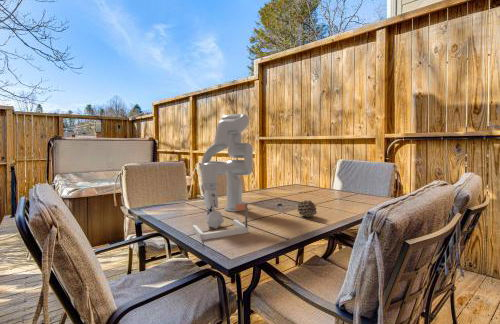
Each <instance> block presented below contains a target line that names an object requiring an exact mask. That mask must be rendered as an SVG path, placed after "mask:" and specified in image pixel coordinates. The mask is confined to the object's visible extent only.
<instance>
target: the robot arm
mask: <svg viewBox="0 0 500 324" xmlns="http://www.w3.org/2000/svg"><path fill="white" fill-rule="evenodd" d="M220 119H221V120H219V121H218V123H217V125H216V130H215V136H214V140H213V143H212V144H211V145H210V146H209V147H208V148H207V150H206V151H205V152H204V153H203V156H202V161H201V164H200V170H201V172H202V190H203V191H204V194H203V195H204V196H203V203H204V206H205V207H206V212H207V213H206V216H207V215H208V214H209V213H210V212H212V211H216V210H215V209H219V199H218V176H223V175H225V176H226V206H225V207H224V211H227V212H237V211H236V204H244V203H247V206H249V204H250V202H249V201H243V193H242V192H243V186H242V185H243V181H242V180H241V178H240V176H251V174H252V172H253V165H254V164H253V162H254V161H253V160H254V158H253V157H254V149H253V146H252V144H251V143H250V142H242V133H243V131H244V130H246V129H247V127H248V126H249V123H250V118H249V116H248V115H247V114H246V113H230V114H223V115H222V117H221V118H220ZM226 149H227V154H228V156H229V157H230V158H234V159H229V160H227V161H226V162H224V161H220V160H219V161H215V160H212V158H213V157H214V156H215V155H216V154H218V153H220V152H222V151H224V150H226ZM237 158H238V159H237ZM211 160H212V161H211ZM241 211H243V210H240V211H239V212H241Z"/></svg>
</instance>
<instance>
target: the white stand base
mask: <svg viewBox="0 0 500 324" xmlns="http://www.w3.org/2000/svg"><path fill="white" fill-rule="evenodd" d="M240 210H242V211H244V212H245V213H244V216H245V217H244V222H245V223H243V222H241V221H239V220H238V219H233V221H232V222H233V224H232V225H233V226H235V228H229V229H223V230H221V229H220V230H216V231H209V232H204V231H202V230H201V229H200V228H199V227H198V226H197V224H193V225H192V231H193V233H196V234H195V235H196V236H197V237H198V238H199V240H200V241H205V240H211V239H216V238H217V239H218V238H224V237H230V236H235V235H243V234H248V233H249V226H248V205H247V203H246V202H245V203H244V204H236V211H235V212H241V211H240Z"/></svg>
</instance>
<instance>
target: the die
mask: <svg viewBox="0 0 500 324" xmlns="http://www.w3.org/2000/svg"><path fill="white" fill-rule="evenodd" d="M205 220H206V223H207V226H208V227H209V228H212V229H215V230H216V229H218V228H219V227H220V226H221V225H222V224H223V223H224V222H225V220H224V218H223V215H222V213H221V211H219V210H215V211H212V212H210V213H209V214H208V215H207V214H206V216H205Z"/></svg>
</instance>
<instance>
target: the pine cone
mask: <svg viewBox="0 0 500 324" xmlns="http://www.w3.org/2000/svg"><path fill="white" fill-rule="evenodd" d="M293 204H294V206H295V207H296V210H297V212H298V214H299V215H300V216H303V217H306V218H307V217H308V218H309V217H313V216H315V215H317V213H318V211H317V205H316V204H315V202H313V201H312V200H309V199H305V200H302V201H300V202H299V203H298V204H297V202H296V201H294V202H293Z"/></svg>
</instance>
